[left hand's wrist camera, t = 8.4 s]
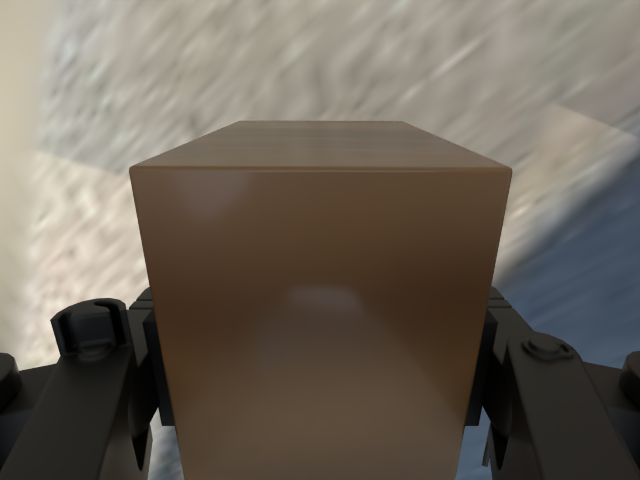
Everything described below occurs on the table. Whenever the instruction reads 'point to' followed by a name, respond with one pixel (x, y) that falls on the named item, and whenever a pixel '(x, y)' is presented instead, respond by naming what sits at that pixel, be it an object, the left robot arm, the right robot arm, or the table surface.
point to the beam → (320, 296)
